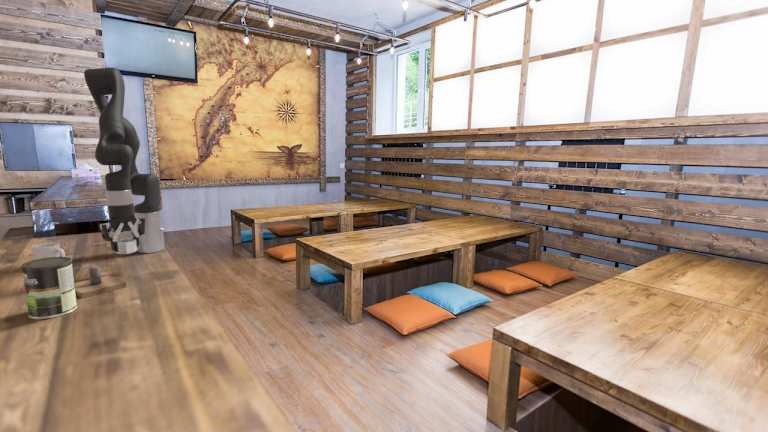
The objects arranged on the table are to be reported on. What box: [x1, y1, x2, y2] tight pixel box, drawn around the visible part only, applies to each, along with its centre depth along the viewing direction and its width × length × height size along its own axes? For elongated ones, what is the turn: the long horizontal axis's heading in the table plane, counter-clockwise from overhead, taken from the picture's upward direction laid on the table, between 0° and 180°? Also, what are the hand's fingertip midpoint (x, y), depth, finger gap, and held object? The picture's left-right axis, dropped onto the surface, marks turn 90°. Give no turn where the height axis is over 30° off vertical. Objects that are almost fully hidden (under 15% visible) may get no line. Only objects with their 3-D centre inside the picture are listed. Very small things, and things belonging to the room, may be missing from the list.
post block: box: [74, 266, 127, 299], centre depth 122 cm, size 12×12×6 cm
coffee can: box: [20, 256, 78, 320], centre depth 104 cm, size 10×10×14 cm
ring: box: [114, 237, 138, 255], centre depth 136 cm, size 6×6×4 cm
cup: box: [31, 242, 66, 260], centre depth 143 cm, size 11×8×8 cm
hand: (126, 249), depth 136 cm, fingers closed on ring, 6 cm apart
